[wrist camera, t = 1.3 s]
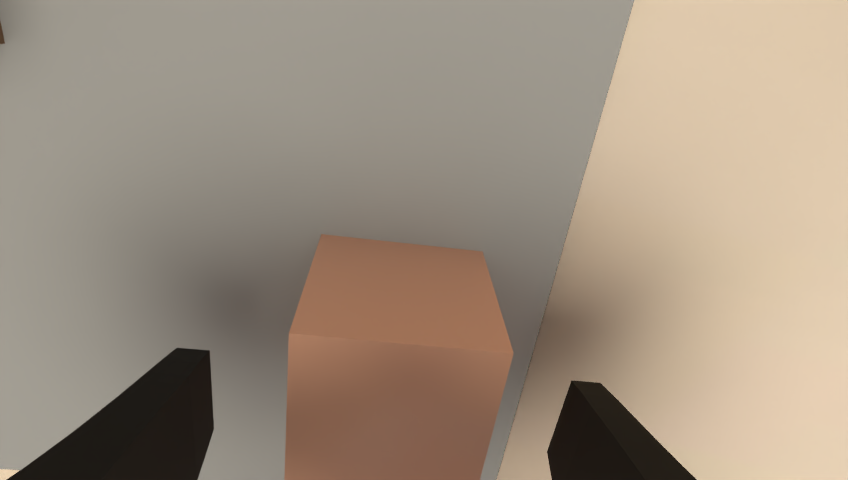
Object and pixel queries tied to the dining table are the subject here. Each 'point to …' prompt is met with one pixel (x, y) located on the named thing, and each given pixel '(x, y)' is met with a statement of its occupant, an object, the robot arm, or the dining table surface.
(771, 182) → the dining table surface
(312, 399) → the cube
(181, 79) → the mat
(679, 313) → the dining table surface
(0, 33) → the tower bottom
